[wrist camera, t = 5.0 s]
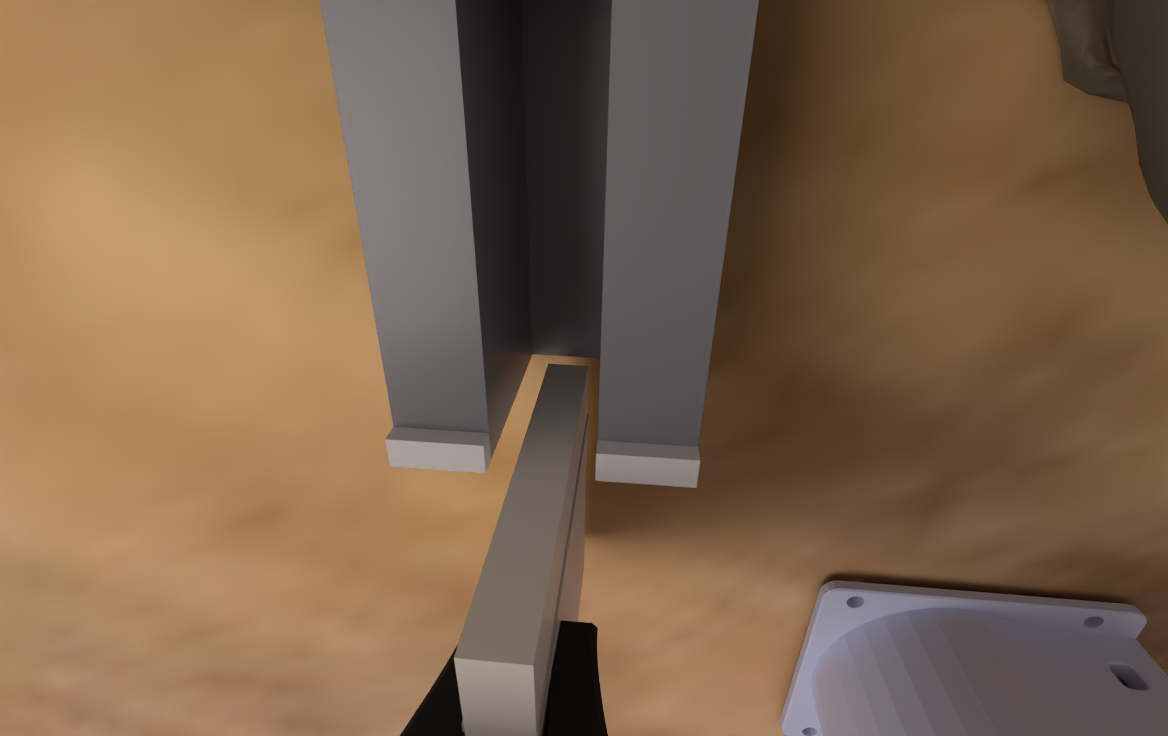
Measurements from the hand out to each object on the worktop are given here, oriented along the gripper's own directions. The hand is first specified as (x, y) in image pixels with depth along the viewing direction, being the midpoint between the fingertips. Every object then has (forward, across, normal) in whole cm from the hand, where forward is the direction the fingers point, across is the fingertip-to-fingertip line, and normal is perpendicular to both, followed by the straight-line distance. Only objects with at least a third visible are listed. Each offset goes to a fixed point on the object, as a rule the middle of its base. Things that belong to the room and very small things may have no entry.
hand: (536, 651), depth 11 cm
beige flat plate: (+5, 0, 0) cm, 5 cm away
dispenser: (+6, 0, -8) cm, 10 cm away
